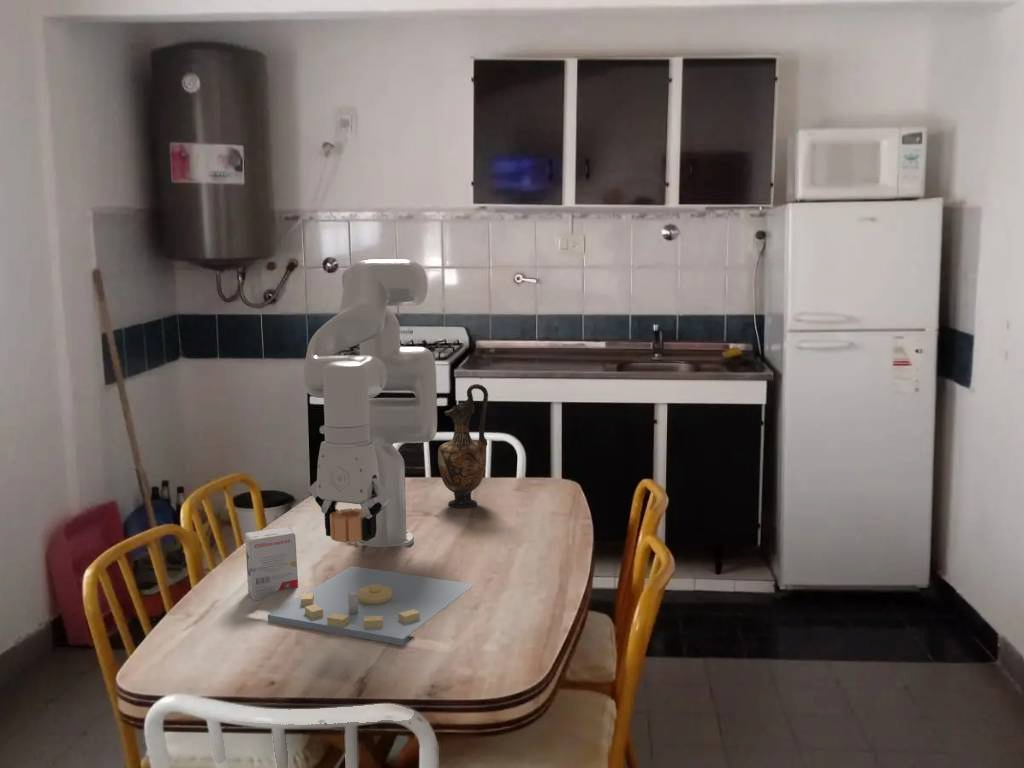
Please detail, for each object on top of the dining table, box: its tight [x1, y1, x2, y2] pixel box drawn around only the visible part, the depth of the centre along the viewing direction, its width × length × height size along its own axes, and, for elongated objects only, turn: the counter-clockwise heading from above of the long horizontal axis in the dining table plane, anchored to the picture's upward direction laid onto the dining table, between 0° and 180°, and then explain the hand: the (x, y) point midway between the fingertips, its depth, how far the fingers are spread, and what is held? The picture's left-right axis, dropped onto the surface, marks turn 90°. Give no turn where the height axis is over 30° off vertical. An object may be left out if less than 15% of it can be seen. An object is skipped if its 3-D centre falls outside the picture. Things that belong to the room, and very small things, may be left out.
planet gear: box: [329, 507, 365, 543], centre depth 172 cm, size 7×7×4 cm
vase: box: [437, 383, 489, 509], centre depth 243 cm, size 12×12×30 cm
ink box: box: [244, 526, 299, 601], centre depth 187 cm, size 9×5×12 cm, turn 116°
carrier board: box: [267, 565, 475, 647], centre depth 181 cm, size 27×27×5 cm
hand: (350, 535), depth 172 cm, fingers closed on planet gear, 6 cm apart
